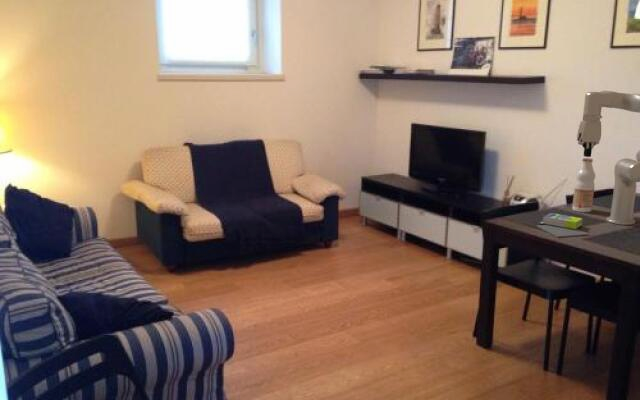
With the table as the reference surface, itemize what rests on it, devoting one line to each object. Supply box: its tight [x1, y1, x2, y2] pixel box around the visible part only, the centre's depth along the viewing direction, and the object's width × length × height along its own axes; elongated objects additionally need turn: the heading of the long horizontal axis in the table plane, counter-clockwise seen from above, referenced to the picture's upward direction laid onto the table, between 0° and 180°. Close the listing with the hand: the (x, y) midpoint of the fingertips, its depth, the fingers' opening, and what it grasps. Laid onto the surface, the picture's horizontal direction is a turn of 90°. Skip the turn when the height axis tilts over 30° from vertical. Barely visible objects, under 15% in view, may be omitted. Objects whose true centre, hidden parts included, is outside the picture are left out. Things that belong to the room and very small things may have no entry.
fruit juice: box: [571, 157, 596, 213], centre depth 290 cm, size 9×9×28 cm
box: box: [538, 212, 583, 229], centre depth 266 cm, size 10×4×17 cm
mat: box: [536, 224, 590, 238], centre depth 259 cm, size 16×17×1 cm
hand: (587, 156), depth 264 cm, fingers closed
